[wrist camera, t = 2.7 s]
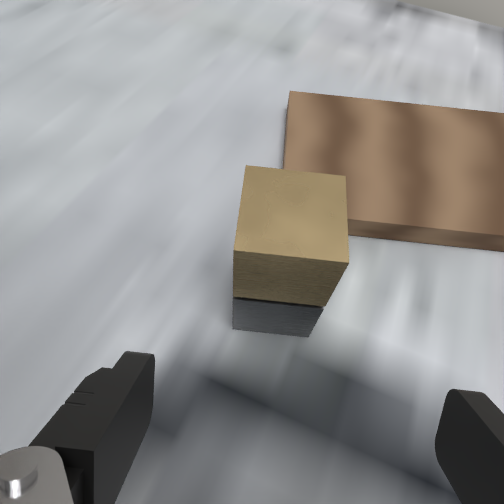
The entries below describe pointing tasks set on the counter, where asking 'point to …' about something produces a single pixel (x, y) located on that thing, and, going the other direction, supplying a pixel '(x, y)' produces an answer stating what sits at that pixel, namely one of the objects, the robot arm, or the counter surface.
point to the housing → (288, 249)
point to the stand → (405, 166)
